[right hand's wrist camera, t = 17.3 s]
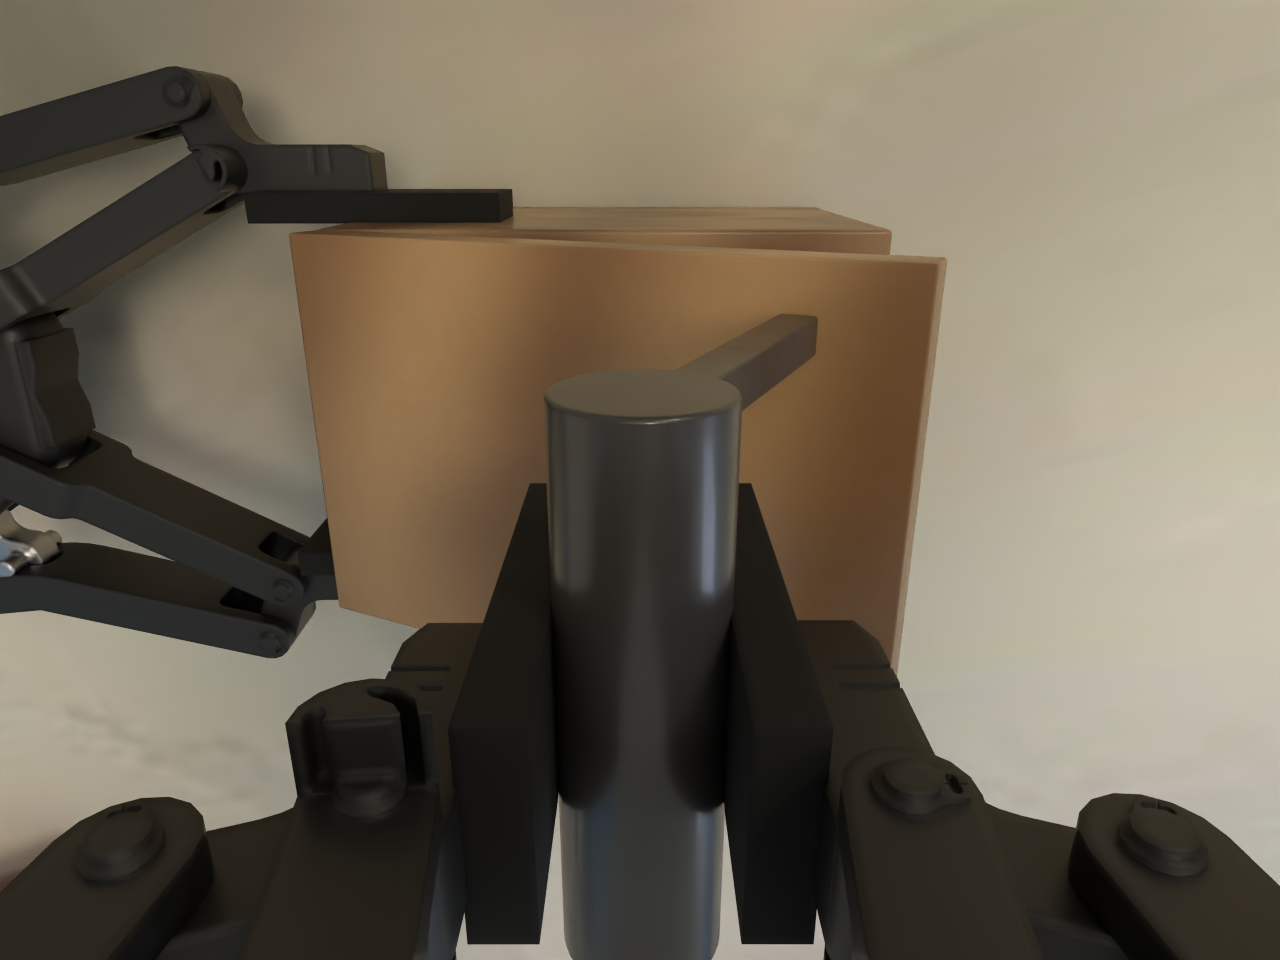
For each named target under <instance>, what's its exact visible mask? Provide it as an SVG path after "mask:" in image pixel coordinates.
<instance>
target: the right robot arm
mask: <svg viewBox="0 0 1280 960" xmlns="http://www.w3.org/2000/svg"><path fill="white" fill-rule="evenodd" d="M285 725H286V731H287V737H288V743H289V749H290V755H291V760H292V766H293V772H294V778H295V784H296V790H297V796H298V797H297V799H296V802H295V805H294V807H293V808H291V809H289V810H287V811H285V812H282V813H279V814H276V815H273V816H269V817H266V818H263V819H260V820H255V821H251V822H246V823H242V824H238V825H233V826H229V827H224V828H220V829H216V830H211V831H207V832H206V829H205V824H204V820H203V816H202V815H201V814H200V813H199V811H198V810H197V809H196V808H195V807H194V806H193V805H192V804H191V803H189V802H185V801H182V800H178V799H175V798H171V797H157V798H140V799H136V800H133V801H129V802H125V803H122V804H118V805H114V806H110V807H108V808H106V809H104V810H102V811H100V812H98V813H96V814H94V815H92V816H90V817H88V818H86V819H83V820H81V821H79V822H78V823H77V824H75V825H74V826H73V827H71V828H70V829H69V830H68V831H66V832H65V833H64V834H62V835H61V836H60V837H58V838H57V839H56V840H54V841H53V842H52V843H51V844H50V845H49V846H48V847H47V848H46V849H45V850H44V851H43V852H42V853H41V854H40V855H39V856H38V857H37V858H36V859H35V860H33V861H32V862H31V863H30V864H29V865H28V866H27V867H26V868H25V869H24V870H23V871H22V872H21V873H20V874H19V875H18V876H17V877H16V878H15V879H14V880H13V881H12V882H11V883H10V884H9V885H8V886H7V887H6V888H5V889H4V890H2V891H1V892H0V960H456V946H457V941H458V937H459V933H460V929H461V924H462V920H463V916H464V911H465V921H466V932H467V943H468V944H539V943H540V935H541V928H542V920H543V912H544V904H545V896H546V888H547V880H548V873H549V865H550V857H551V849H552V841H553V833H554V825H555V818H556V810H557V802H558V794H559V784H558V758H557V733H556V708H555V683H554V657H553V632H552V607H551V583H550V557H549V532H548V507H547V483H530V484H529V487H528V490H527V493H526V496H525V499H524V502H523V505H522V508H521V511H520V514H519V517H518V520H517V523H516V526H515V529H514V532H513V535H512V538H511V541H510V544H509V547H508V550H507V553H506V556H505V559H504V562H503V565H502V568H501V571H500V574H499V577H498V580H497V583H496V586H495V589H494V592H493V595H492V597H491V600H490V603H489V606H488V609H487V612H486V615H485V618H484V621H483V623H427V624H426V625H425V626H423V627H422V628H421V629H420V630H418V631H417V632H416V633H415V634H413V635H412V636H411V637H410V638H408V639H407V640H406V641H405V642H403V643H402V646H401V648H400V650H399V652H398V654H397V656H396V658H395V660H394V662H393V664H392V666H391V671H389V672H388V674H387V676H386V678H385V679H366V680H360V681H354V682H348V683H343V684H341V685H338V686H335V687H333V688H330V689H327V690H325V691H322V692H319V693H318V694H316V695H315V696H313V697H312V698H310V699H309V700H307V701H306V702H304V703H303V704H301V705H300V706H298V707H297V709H296V710H295V711H294V713H293V714H292V715H291V716H290V718H289V719H288V720H287V722H286V723H285ZM724 809H725V817H726V825H727V833H728V841H729V848H730V856H731V864H732V872H733V880H734V888H735V895H736V903H737V911H738V919H739V927H740V935H741V942H742V944H813V943H814V933H815V922H816V911H818V915H819V919H820V924H821V928H822V932H823V936H824V941H825V950H824V960H1280V886H1279V885H1278V884H1277V883H1276V882H1275V881H1274V880H1273V879H1272V878H1271V877H1270V876H1269V875H1268V874H1267V873H1266V872H1265V871H1264V870H1263V869H1262V868H1260V867H1259V866H1258V865H1257V864H1256V863H1255V862H1254V861H1253V860H1252V859H1251V858H1250V857H1249V856H1248V855H1247V854H1246V853H1245V852H1244V851H1243V850H1242V849H1241V848H1240V847H1239V846H1238V845H1237V844H1235V843H1234V842H1233V841H1232V840H1231V839H1230V838H1229V837H1228V836H1227V835H1225V834H1224V833H1223V832H1221V831H1220V830H1219V829H1217V828H1216V827H1215V826H1213V825H1212V824H1211V823H1209V822H1208V821H1207V820H1205V819H1204V818H1203V817H1200V816H1198V815H1196V814H1194V813H1192V812H1190V811H1188V810H1186V809H1184V808H1182V807H1180V806H1178V805H1176V804H1173V803H1171V802H1167V801H1163V800H1160V799H1156V798H1152V797H1148V796H1145V795H1140V794H1118V793H1112V794H1109V795H1105V796H1102V797H1098V798H1094V799H1091V800H1090V801H1089V803H1088V804H1087V805H1086V806H1085V807H1084V808H1083V809H1082V810H1081V811H1080V812H1079V817H1078V821H1077V826H1076V828H1073V827H1069V826H1064V825H1060V824H1055V823H1051V822H1046V821H1042V820H1038V819H1033V818H1029V817H1024V816H1021V815H1017V814H1014V813H1011V812H1007V811H1004V810H1001V809H998V808H996V807H994V806H992V805H989V804H987V803H985V800H984V798H983V795H982V794H981V792H980V791H979V789H978V788H977V786H976V785H975V783H974V782H973V780H972V779H971V777H970V776H968V775H967V774H966V773H964V772H963V771H962V770H960V769H959V768H958V767H957V766H955V765H954V764H953V763H951V762H950V761H947V760H945V759H943V758H940V757H938V756H936V755H935V754H934V752H933V750H932V748H931V746H930V744H929V742H928V740H927V738H926V736H925V734H924V732H923V729H922V727H921V725H920V723H919V721H918V719H917V717H916V715H915V713H914V711H913V709H912V707H911V705H910V703H909V701H908V699H907V697H906V695H905V693H904V691H903V689H902V688H900V683H899V681H898V679H897V676H896V674H895V672H894V670H893V668H890V662H889V660H888V658H887V656H886V654H885V652H884V650H883V648H882V646H881V644H880V642H879V640H878V639H876V638H875V637H874V636H873V635H871V634H870V633H869V632H868V631H866V630H865V629H864V628H863V627H861V626H860V625H859V624H858V623H856V622H855V621H854V620H797V618H796V615H795V612H794V609H793V606H792V603H791V600H790V597H789V594H788V591H787V588H786V585H785V582H784V579H783V576H782V573H781V570H780V567H779V564H778V561H777V558H776V555H775V552H774V549H773V546H772V543H771V541H770V538H769V535H768V532H767V529H766V526H765V523H764V520H763V517H762V514H761V511H760V508H759V505H758V502H757V499H756V496H755V493H754V490H753V487H752V484H751V483H739V492H738V515H737V538H736V562H735V585H734V608H733V613H732V616H731V640H730V664H729V688H728V712H727V736H726V760H725V783H724Z"/></svg>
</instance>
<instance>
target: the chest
mask: <svg viewBox="0 0 1280 960" xmlns="http://www.w3.org/2000/svg"><path fill="white" fill-rule="evenodd" d="M320 230H337V231H360V232H382V233H405V234H427V235H450V236H472V237H495V238H517V239H540V240H562V241H585V242H607V243H629V244H652V245H674V246H697V247H719V248H742V249H764V250H787V251H809V252H832V253H854V254H877V255H890V247H891V237H892V233H891V231H890V230H887V229H884V228H881V227H877V226H874V225H871V224H867V223H864V222H861V221H857V220H854V219H851V218H847V217H844V216H841V215H837V214H834V213H831V212H827V211H824V210H821V209H818V208H697V207H513V216H512V217H510V218H508V219H506V220H504V221H502V222H500V223H346V224H341V225H337V226H332V227H328V228H323V229H320Z"/></svg>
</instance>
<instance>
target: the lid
mask: <svg viewBox="0 0 1280 960" xmlns="http://www.w3.org/2000/svg"><path fill="white" fill-rule="evenodd" d="M289 238H290V245H291V253H292V260H293V267H294V275H295V282H296V289H297V297H298V304H299V312H300V319H301V326H302V334H303V341H304V348H305V356H306V363H307V371H308V378H309V385H310V393H311V400H312V408H313V415H314V422H315V430H316V437H317V444H318V452H319V459H320V467H321V474H322V481H323V489H324V496H325V503H326V511H327V518H328V526H329V533H330V540H331V548H332V555H333V562H334V570H335V577H336V585H337V592H338V599H339V606H340V607H341V608H345V609H349V610H352V611H356V612H360V613H363V614H367V615H371V616H375V617H378V618H382V619H386V620H389V621H393V622H397V623H401V624H404V625H408V626H412V627H416V628H419V629H421V628H422V627H423V626H425V625H426V624H427V623H483V621H484V618H485V615H486V612H487V609H488V606H489V603H490V600H491V597H492V595H493V592H494V589H495V586H496V583H497V580H498V577H499V574H500V571H501V568H502V565H503V562H504V559H505V556H506V553H507V550H508V547H509V544H510V541H511V538H512V535H513V532H514V529H515V526H516V523H517V520H518V517H519V514H520V511H521V508H522V505H523V502H524V499H525V496H526V493H527V490H528V487H529V484H530V483H547V507H548V532H549V557H550V583H551V607H552V632H553V657H554V683H555V708H556V733H557V758H558V784H559V811H560V837H561V862H562V887H563V913H564V934H565V941H566V946H567V949H568V951H569V954H570V956H571V957H572V959H573V960H711V959H712V957H713V956H714V954H715V951H716V948H717V946H718V941H719V932H720V909H721V886H722V863H723V840H724V816H725V809H724V783H725V760H726V736H727V712H728V688H729V664H730V640H731V616H732V613H733V608H734V585H735V562H736V538H737V515H738V492H739V483H751V484H752V487H753V490H754V493H755V496H756V499H757V502H758V505H759V508H760V511H761V514H762V517H763V520H764V523H765V526H766V529H767V532H768V535H769V538H770V541H771V543H772V546H773V549H774V552H775V555H776V558H777V561H778V564H779V567H780V570H781V573H782V576H783V579H784V582H785V585H786V588H787V591H788V594H789V597H790V600H791V603H792V606H793V609H794V612H795V615H796V618H797V620H854V621H855V622H856V623H858V624H859V625H860V626H861V627H863V628H864V629H865V630H866V631H868V632H869V633H870V634H871V635H873V636H874V637H875V638H876V639H878V640H879V642H880V644H881V646H882V648H883V650H884V652H885V654H886V656H887V658H888V660H889V662H890V668H893V670H894V672H895V674H896V676H897V670H898V662H899V654H900V645H901V637H902V629H903V621H904V612H905V604H906V596H907V588H908V579H909V571H910V563H911V555H912V546H913V538H914V530H915V521H916V513H917V505H918V497H919V488H920V480H921V472H922V464H923V455H924V447H925V439H926V431H927V422H928V414H929V406H930V398H931V389H932V381H933V373H934V364H935V356H936V348H937V340H938V331H939V323H940V315H941V307H942V298H943V290H944V282H945V274H946V265H947V259H946V258H944V257H922V256H899V255H877V254H854V253H832V252H809V251H787V250H764V249H742V248H719V247H697V246H674V245H652V244H629V243H607V242H585V241H562V240H540V239H517V238H495V237H472V236H450V235H427V234H405V233H382V232H360V231H337V230H317V231H306V232H296V233H290V234H289Z"/></svg>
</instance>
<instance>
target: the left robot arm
mask: <svg viewBox="0 0 1280 960" xmlns="http://www.w3.org/2000/svg"><path fill="white" fill-rule="evenodd" d="M242 105H243V100H242V95H241V92H240V90H239V88H238V87H237V85H236V84H235V83H234V82H233V81H231V80H230V79H229V78H227V77H224V76H221V75H217V74H212V73H207V72H202V71H197V70H192V69H187V68H182V67H177V66H175V67H165V68H162V69H159V70H155V71H152V72H148V73H145V74H142V75H138V76H135V77H131V78H128V79H125V80H121V81H118V82H115V83H111V84H108V85H104V86H101V87H98V88H94V89H91V90H87V91H84V92H81V93H77V94H74V95H70V96H67V97H64V98H60V99H57V100H54V101H50V102H47V103H43V104H40V105H37V106H33V107H30V108H26V109H23V110H20V111H16V112H13V113H10V114H6V115H3V116H0V186H5V185H10V184H15V183H19V182H23V181H26V180H30V179H33V178H37V177H40V176H44V175H47V174H51V173H54V172H58V171H61V170H64V169H68V168H71V167H75V166H78V165H82V164H85V163H89V162H92V161H96V160H99V159H103V158H106V157H110V156H113V155H117V154H120V153H124V152H127V151H130V150H134V149H137V148H141V147H144V146H148V145H151V144H155V143H158V142H162V141H165V140H169V139H172V138H176V137H179V136H184V138H185V140H186V142H187V144H188V146H189V147H187V148H188V149H189V151H191V152H192V153H191V154H190V155H188V156H187V157H185V158H184V159H182V160H180V161H179V162H177V163H176V164H174V165H172V166H171V167H169V168H168V169H166V170H164V171H163V172H161V173H160V174H158V175H157V176H155V177H153V178H152V179H150V180H149V181H147V182H145V183H144V184H142V185H141V186H139V187H137V188H136V189H134V190H133V191H131V192H130V193H128V194H126V195H125V196H123V197H122V198H120V199H118V200H117V201H115V202H114V203H112V204H110V205H109V206H107V207H106V208H104V209H103V210H101V211H99V212H98V213H96V214H95V215H93V216H91V217H90V218H88V219H87V220H85V221H83V222H82V223H80V224H79V225H77V226H75V227H74V228H72V229H71V230H69V231H68V232H66V233H64V234H63V235H61V236H60V237H58V238H56V239H55V240H53V241H52V242H50V243H48V244H47V245H45V246H44V247H42V248H41V249H39V250H37V251H36V252H34V253H33V254H31V255H29V256H28V257H26V258H25V259H23V260H21V261H20V262H18V263H16V264H14V265H12V266H10V267H7V268H5V269H2V270H0V614H3V613H14V612H25V611H36V610H43V611H48V612H52V613H57V614H62V615H67V616H71V617H76V618H81V619H86V620H90V621H95V622H100V623H105V624H109V625H114V626H119V627H124V628H128V629H133V630H138V631H143V632H147V633H152V634H157V635H162V636H166V637H171V638H176V639H181V640H185V641H190V642H195V643H199V644H204V645H209V646H214V647H218V648H223V649H228V650H233V651H237V652H242V653H247V654H252V655H256V656H261V657H266V658H278V657H281V656H283V655H284V654H285V653H286V652H287V651H288V650H289V648H290V647H291V645H292V644H293V642H294V641H295V640H296V638H297V637H298V635H299V634H300V632H301V631H302V630H303V628H304V627H305V625H306V624H307V622H308V621H309V620H310V618H311V617H312V615H313V614H314V612H315V609H316V604H315V601H317V600H339V599H338V592H337V585H336V577H335V570H334V562H333V555H332V548H331V540H330V533H329V526H328V518H327V519H326V520H325V521H324V522H323V523H322V525H321V526H320V527H319V528H318V529H317V531H316V532H315V533H314V534H313V535H312V536H311V538H310V537H308V536H305V535H303V534H301V533H299V532H297V531H294V530H292V529H290V528H288V527H286V526H283V525H281V524H279V523H277V522H275V521H272V520H270V519H268V518H266V517H264V516H261V515H259V514H257V513H255V512H253V511H250V510H248V509H246V508H244V507H242V506H239V505H237V504H235V503H233V502H230V501H228V500H226V499H224V498H222V497H219V496H217V495H215V494H213V493H211V492H208V491H206V490H204V489H202V488H200V487H197V486H195V485H193V484H191V483H189V482H186V481H184V480H182V479H180V478H178V477H175V476H173V475H171V474H169V473H167V472H164V471H162V470H160V469H158V468H156V467H153V466H151V465H149V464H147V463H144V462H142V461H140V460H138V459H136V458H134V457H133V456H132V451H131V449H130V448H129V447H128V446H126V445H124V444H122V443H120V442H118V441H116V440H113V439H111V438H109V437H107V436H105V435H103V434H100V433H98V432H96V431H94V430H93V429H95V428H96V427H95V423H94V419H93V414H92V410H91V405H90V403H89V401H88V399H87V397H86V395H85V393H84V391H83V389H82V387H81V385H80V383H79V381H78V356H79V353H78V348H77V344H76V340H75V335H74V331H73V328H63V326H62V324H61V322H60V321H59V319H60V318H62V317H63V316H65V315H67V314H68V313H70V312H71V311H73V310H75V309H76V308H78V307H80V306H81V305H83V304H85V303H86V302H88V301H89V300H91V299H93V298H94V297H96V296H97V295H98V292H99V291H100V290H102V289H103V288H105V287H107V286H108V285H110V284H112V283H113V282H115V281H117V280H118V279H120V278H121V277H123V276H125V275H126V274H128V273H130V272H131V271H133V270H135V269H136V268H138V267H139V266H141V265H143V264H144V263H146V262H148V261H149V260H151V259H153V258H154V257H156V256H157V255H159V254H161V253H162V252H164V251H166V250H167V249H169V248H171V247H172V246H174V245H175V244H177V243H179V242H180V241H182V240H184V239H185V238H187V237H189V236H190V235H192V234H194V233H195V232H197V231H198V230H200V229H202V228H203V227H205V226H207V225H208V224H210V223H212V222H213V221H215V220H216V219H218V218H220V217H221V216H223V215H225V214H226V213H228V212H230V211H231V210H233V209H234V208H236V207H238V206H239V205H241V204H243V203H244V202H245V206H246V213H247V219H248V223H500V222H502V221H504V220H506V219H508V218H510V217H512V216H513V200H512V189H387V179H386V168H385V158H384V153H382V152H380V151H377V150H375V149H373V148H370V147H368V146H365V145H273V144H270V143H268V142H265V141H264V140H262V139H261V138H259V137H258V136H257V135H256V134H255V132H254V131H253V130H252V128H251V127H250V125H249V123H248V121H247V119H246V117H245V115H244V113H243V111H242ZM67 465H68V466H67ZM18 505H22V506H24V507H26V508H29V509H31V510H33V511H35V512H38V513H40V514H42V515H45V516H48V517H51V518H56V519H68V518H75V519H79V520H82V521H85V522H87V523H89V524H91V525H94V526H96V527H98V528H101V529H103V530H105V531H107V532H110V533H112V534H114V535H117V536H119V537H121V538H124V539H126V540H128V541H130V542H133V543H135V544H137V545H140V546H142V547H144V548H146V549H149V550H151V551H153V552H156V553H158V554H160V555H162V556H165V557H167V558H169V559H172V560H174V561H171V560H166V559H162V558H157V557H153V556H148V555H143V554H139V553H134V552H130V551H125V550H121V549H116V548H112V547H107V546H102V545H96V544H90V543H76V542H74V543H62V537H61V536H60V534H59V533H57V532H56V531H53V530H48V531H46V532H41V531H36V530H30V529H27V528H24V527H22V526H21V525H19V524H18V523H17V522H16V521H15V520H14V519H13V517H12V515H11V513H10V511H11V510H13V509H14V508H15V507H17V506H18ZM175 561H176V562H175Z"/></svg>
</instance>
